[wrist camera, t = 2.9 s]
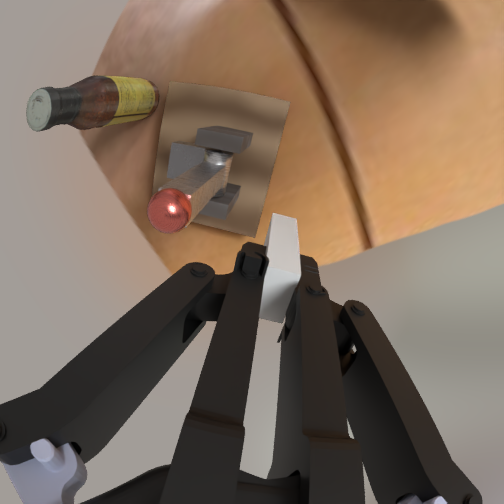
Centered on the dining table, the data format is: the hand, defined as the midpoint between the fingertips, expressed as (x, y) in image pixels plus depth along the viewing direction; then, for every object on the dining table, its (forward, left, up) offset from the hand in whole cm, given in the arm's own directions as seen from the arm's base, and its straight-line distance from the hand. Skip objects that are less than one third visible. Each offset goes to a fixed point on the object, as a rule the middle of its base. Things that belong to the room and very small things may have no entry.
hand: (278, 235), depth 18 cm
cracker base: (0, -9, -21) cm, 23 cm away
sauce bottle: (-6, -22, -21) cm, 31 cm away
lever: (0, -9, -14) cm, 17 cm away
